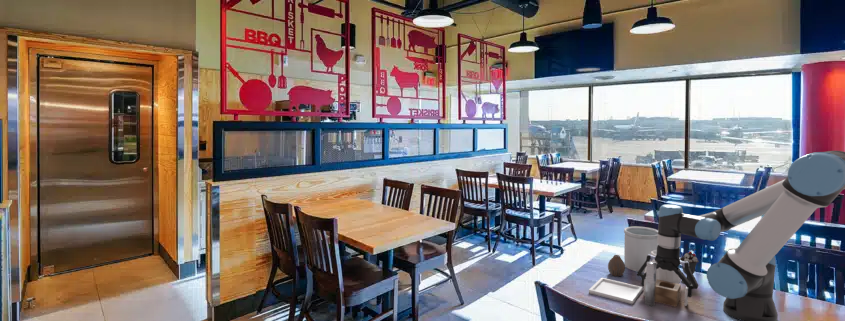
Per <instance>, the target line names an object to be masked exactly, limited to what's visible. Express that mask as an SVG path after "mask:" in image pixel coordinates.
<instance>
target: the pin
mask: <svg viewBox="0 0 845 321" xmlns="http://www.w3.org/2000/svg"><path fill="white" fill-rule="evenodd" d="M656 267H657V264H656V263H654V262H647V269H646V290H645V296H644V305H645V306H647V307H655V306H656V305H655V304H656V302H655V287H656Z"/></svg>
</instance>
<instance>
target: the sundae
mask: <svg viewBox="0 0 845 321" xmlns="http://www.w3.org/2000/svg"><path fill="white" fill-rule="evenodd" d="M696 250H697V249H696V248H694V249H693V250H692V251H689V252H686V253H685V254H684V255H683V254H682V253H680V256H681V257H679V259H680V261H684V262H686V261H689V266H690V269H691V271H692V273H693V275H694V274H695V271H696V268H697V264H698V263H699V262H700V261H699V259H698V258H697V255H696V253H693V252H695V251H696ZM682 273H683V274H684V275H685V276H686V278H687V279H688V280H689V282H690V283H691V281H690V279H689V277H688V275H687V273H686V270H685V268H684V267H683V266H682ZM680 283H681V284H683V285H685V284H684V283H683V281H682V280H681V282H680ZM691 284H692V283H691Z"/></svg>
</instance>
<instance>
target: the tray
mask: <svg viewBox="0 0 845 321" xmlns="http://www.w3.org/2000/svg"><path fill="white" fill-rule="evenodd" d="M642 292H644V286H639V285H635V284H632V283H626V282H623V281H619V280H615V279H609V278H606V277H600V278H599V279H598V280H597V281H596V282H595V283H594V284H593V285H592V286H591V287H590V288H589V289H588V294H590V295H594V296H599V297H602V298H605V299H610V300H614V301H617V302H621V303H625V304H629V305H634V303H635V302H636V300H637V299H638V298H639V296H640V295H641V294H642Z"/></svg>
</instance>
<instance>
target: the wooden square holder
mask: <svg viewBox="0 0 845 321" xmlns="http://www.w3.org/2000/svg"><path fill="white" fill-rule="evenodd" d="M681 286H682V283H679V284H677V283H672V282H668V281H663V280H658V279H657V280H656V287H655V303H659V304H664V305H667V306H672V307H677V306H678V305H679V303H680V300H681Z"/></svg>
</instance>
